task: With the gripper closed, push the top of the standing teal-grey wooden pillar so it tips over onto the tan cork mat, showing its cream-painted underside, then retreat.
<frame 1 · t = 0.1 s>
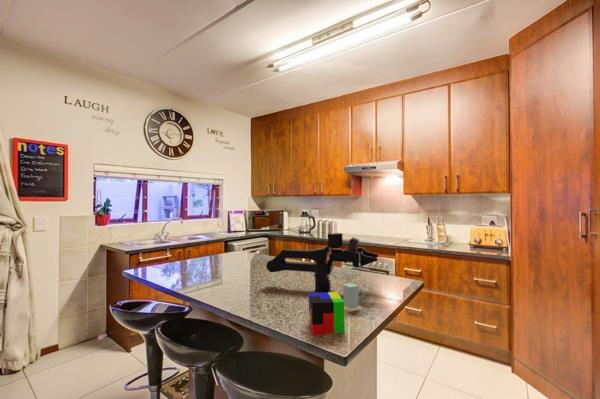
hand: (377, 257, 127), 17 cm above the countertop, tool horizontal, fingers open, 9 cm apart
puzzle toy: (325, 328, 94), on the countertop
mat: (344, 306, 113), on the countertop
pillar: (351, 308, 109), resting on mat
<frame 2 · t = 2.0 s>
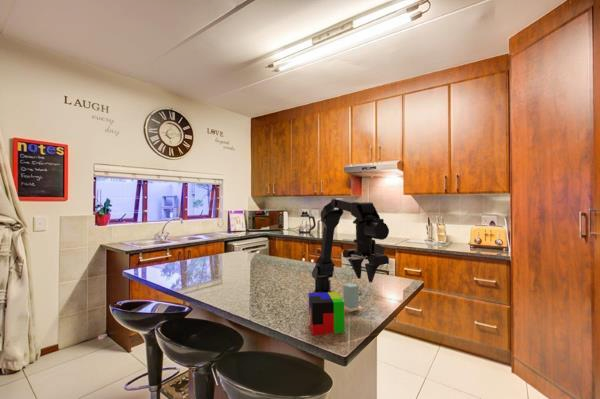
hand: (364, 280, 102), 13 cm above the countertop, tool pointing down, fingers open, 6 cm apart
nothing on the countertop moved.
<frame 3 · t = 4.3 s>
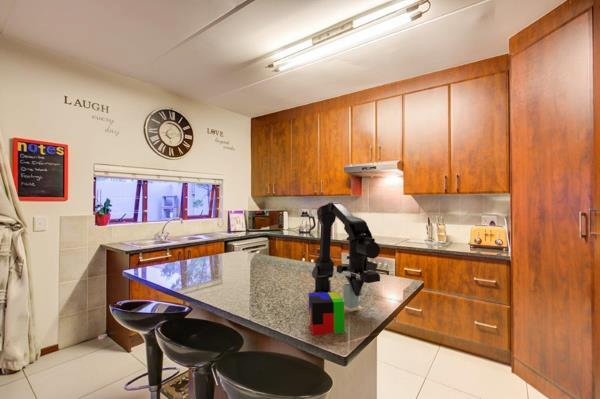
hand: (357, 295, 106), 6 cm above the countertop, tool pointing down, fingers closed
pillar: (351, 308, 109), resting on mat, touching gripper
everything else where it was.
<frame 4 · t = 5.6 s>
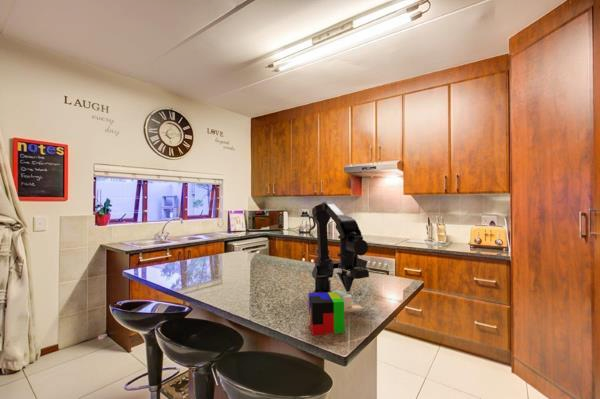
hand: (347, 291, 111), 6 cm above the countertop, tool pointing down, fingers closed
pillar: (347, 301, 111), point 2 cm above the countertop, tilted 90°, touching mat
everything else where it was.
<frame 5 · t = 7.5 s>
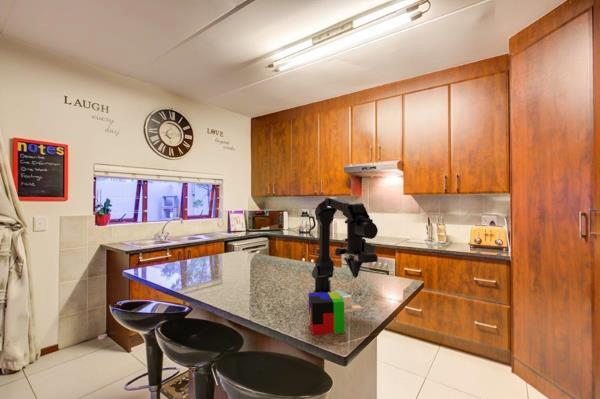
hand: (355, 277, 108), 13 cm above the countertop, tool pointing down, fingers closed
nothing on the countertop moved.
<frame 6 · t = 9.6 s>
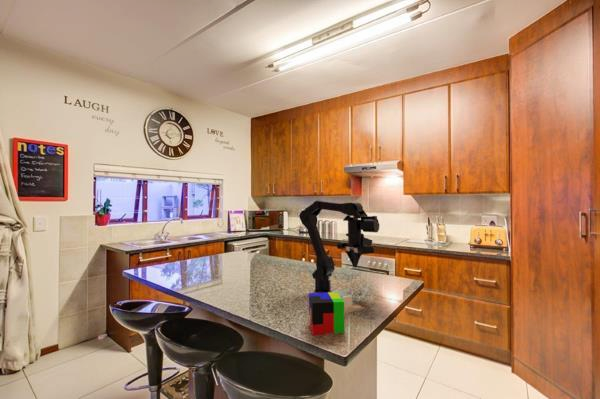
hand: (355, 267, 124), 13 cm above the countertop, tool pointing down, fingers closed
nothing on the countertop moved.
at the end: pillar tilted 90°; pillar inside the target area (2.4 cm from its centre), point 2.4 cm above the countertop; the gripper is holding nothing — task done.
